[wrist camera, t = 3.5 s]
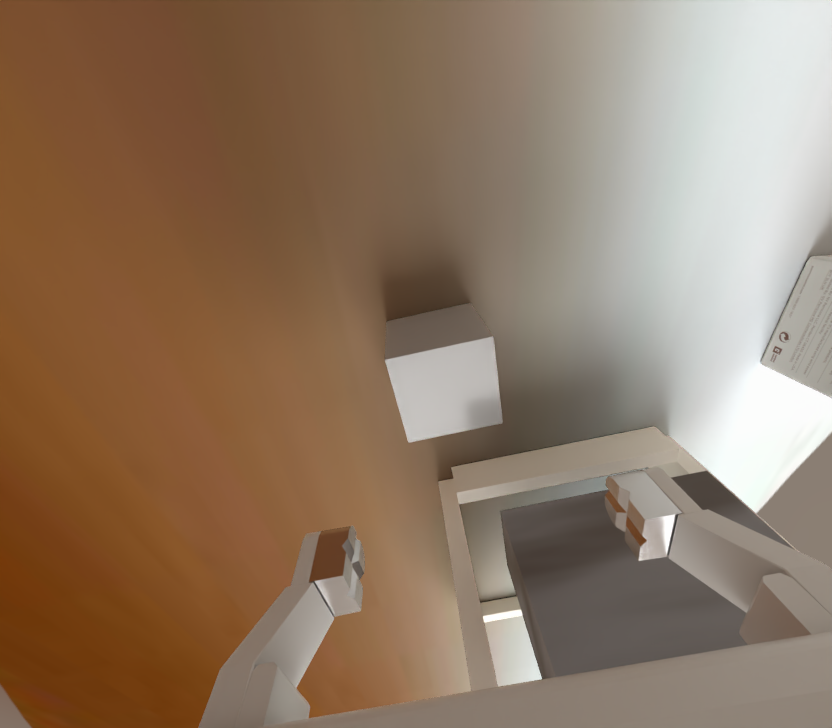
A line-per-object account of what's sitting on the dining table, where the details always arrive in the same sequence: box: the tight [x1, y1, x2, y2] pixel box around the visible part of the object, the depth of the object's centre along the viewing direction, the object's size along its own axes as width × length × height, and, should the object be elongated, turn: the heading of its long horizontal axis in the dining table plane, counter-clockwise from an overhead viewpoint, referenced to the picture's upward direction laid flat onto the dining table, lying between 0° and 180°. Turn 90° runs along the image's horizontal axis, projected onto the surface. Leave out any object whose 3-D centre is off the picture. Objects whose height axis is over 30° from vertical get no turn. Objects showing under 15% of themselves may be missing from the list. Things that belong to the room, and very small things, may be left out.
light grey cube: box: [385, 303, 503, 442], centre depth 19 cm, size 5×5×5 cm
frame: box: [438, 426, 797, 691], centre depth 24 cm, size 20×18×14 cm
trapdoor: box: [500, 471, 795, 679], centre depth 19 cm, size 20×14×7 cm
